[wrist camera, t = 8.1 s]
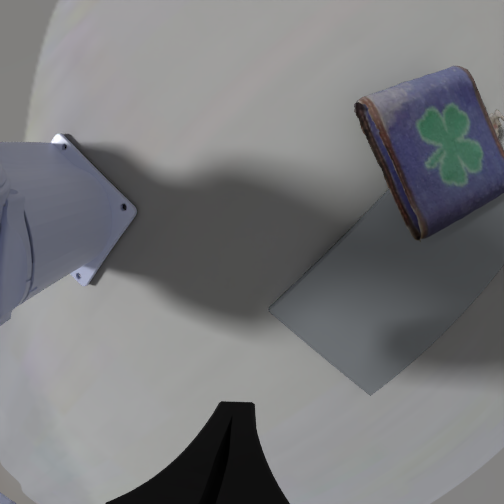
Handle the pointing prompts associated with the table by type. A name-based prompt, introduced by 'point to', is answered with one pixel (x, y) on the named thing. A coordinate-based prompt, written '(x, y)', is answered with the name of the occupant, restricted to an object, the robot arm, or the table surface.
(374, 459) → the table surface
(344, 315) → the mat
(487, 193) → the clover print pouch
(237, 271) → the table surface
